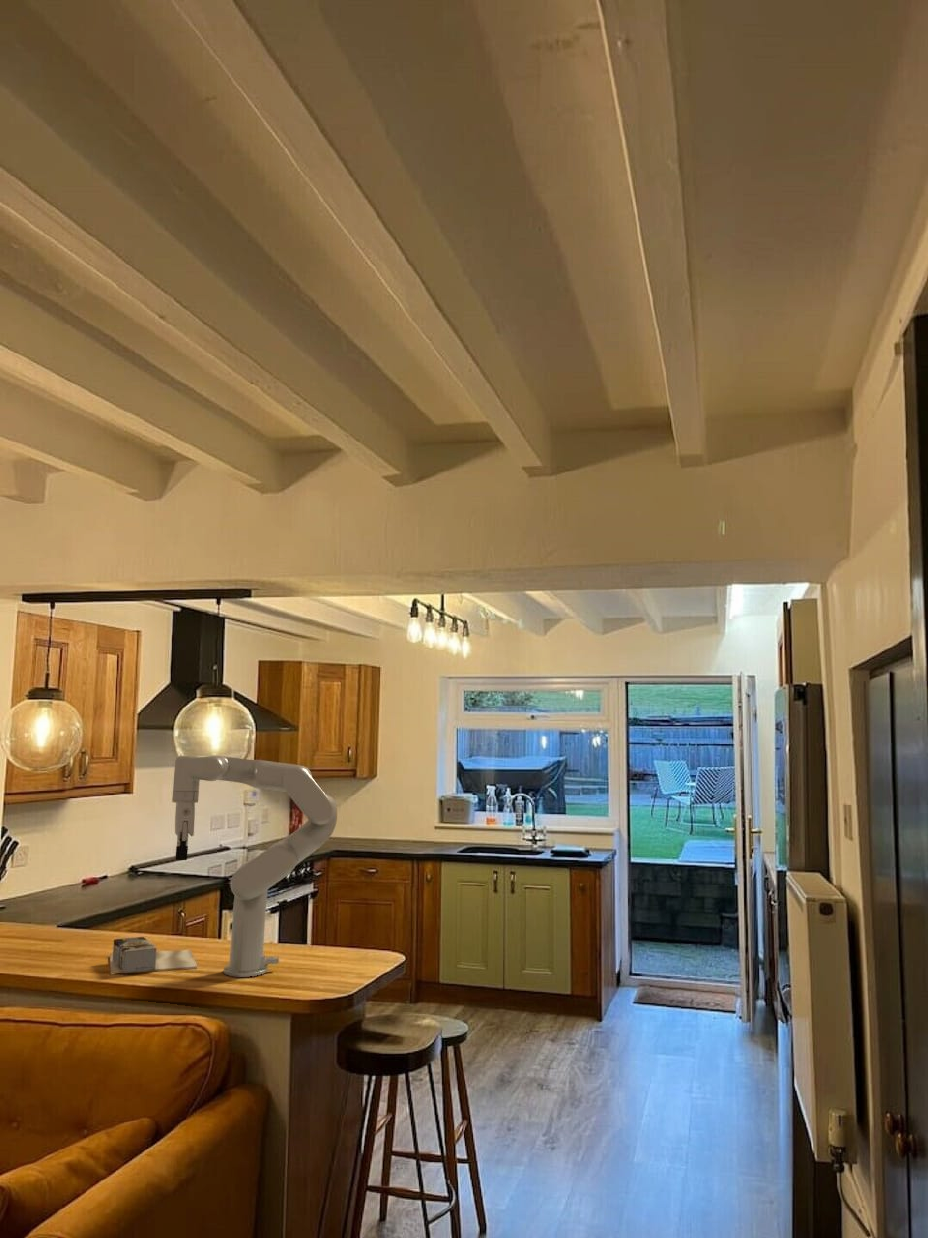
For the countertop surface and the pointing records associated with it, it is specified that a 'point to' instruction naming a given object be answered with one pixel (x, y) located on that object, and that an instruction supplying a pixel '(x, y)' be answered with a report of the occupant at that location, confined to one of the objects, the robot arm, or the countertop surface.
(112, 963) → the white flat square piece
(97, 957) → the countertop surface
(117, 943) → the coffee box
